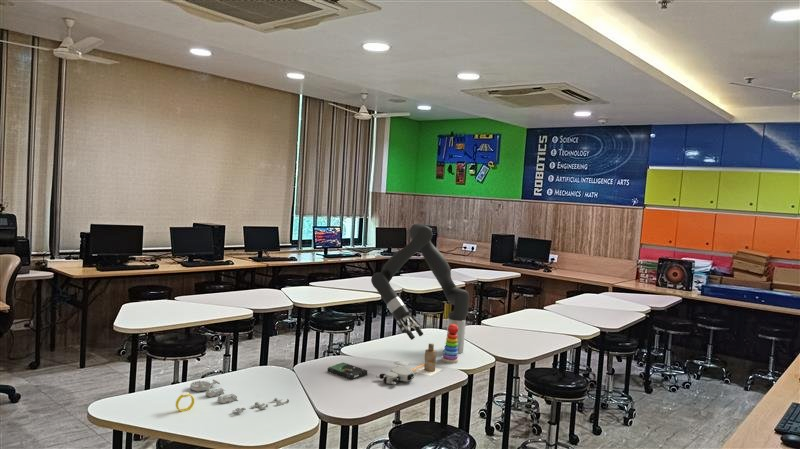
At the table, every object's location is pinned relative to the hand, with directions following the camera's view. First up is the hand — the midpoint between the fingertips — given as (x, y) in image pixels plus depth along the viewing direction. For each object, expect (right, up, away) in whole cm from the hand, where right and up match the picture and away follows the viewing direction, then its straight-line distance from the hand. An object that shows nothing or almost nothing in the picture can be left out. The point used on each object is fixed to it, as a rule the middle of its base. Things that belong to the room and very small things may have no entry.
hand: (417, 337), depth 248 cm
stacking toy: (+16, -15, +14) cm, 26 cm away
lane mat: (-2, -14, 0) cm, 15 cm away
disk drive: (-31, -14, -14) cm, 37 cm away
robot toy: (-10, -15, -20) cm, 27 cm away
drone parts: (-69, -13, -48) cm, 85 cm away
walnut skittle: (+5, -15, -3) cm, 16 cm away
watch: (-83, -12, -64) cm, 105 cm away
